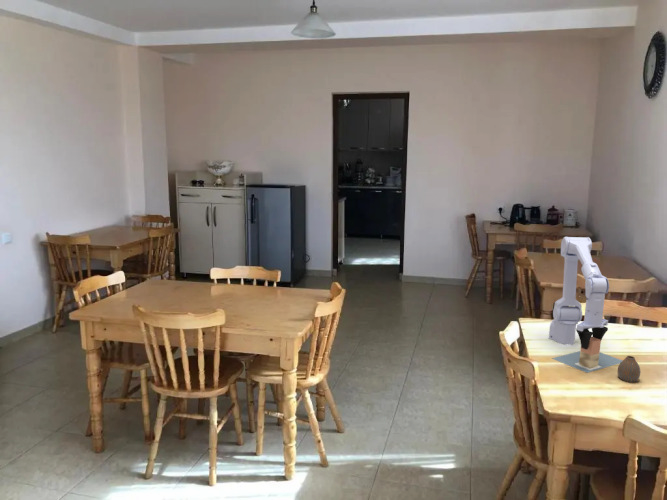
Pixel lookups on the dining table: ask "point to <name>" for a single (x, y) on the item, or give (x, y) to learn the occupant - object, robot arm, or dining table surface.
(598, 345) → the terracotta block
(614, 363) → the build board
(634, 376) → the vase
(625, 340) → the dining table surface
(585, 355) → the maple block
